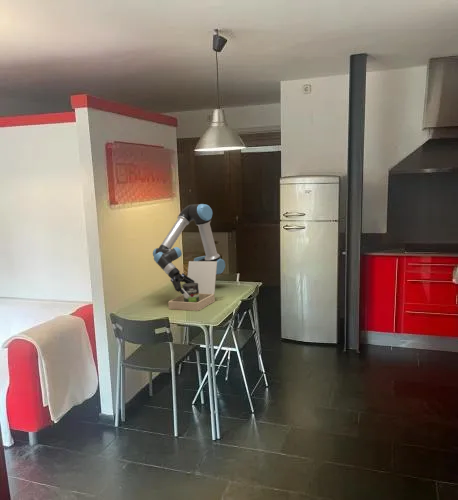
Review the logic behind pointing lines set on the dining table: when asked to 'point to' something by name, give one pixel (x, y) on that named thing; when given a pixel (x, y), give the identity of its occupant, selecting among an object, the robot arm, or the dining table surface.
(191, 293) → the coffee can
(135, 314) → the dining table surface
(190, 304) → the mailer box
